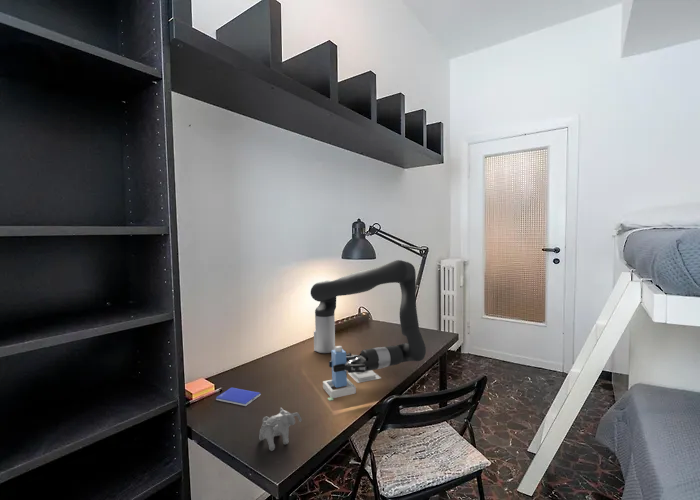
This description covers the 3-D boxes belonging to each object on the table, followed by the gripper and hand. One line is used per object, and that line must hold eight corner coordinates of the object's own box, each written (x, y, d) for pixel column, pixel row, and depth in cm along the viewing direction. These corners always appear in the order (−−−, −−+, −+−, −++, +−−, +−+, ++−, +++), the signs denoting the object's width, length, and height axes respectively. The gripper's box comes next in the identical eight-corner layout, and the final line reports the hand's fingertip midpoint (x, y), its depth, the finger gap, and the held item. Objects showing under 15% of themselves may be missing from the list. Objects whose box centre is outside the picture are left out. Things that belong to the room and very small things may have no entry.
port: (348, 382, 132) (348, 374, 132) (361, 396, 121) (361, 387, 121) (317, 388, 128) (317, 380, 127) (328, 403, 117) (328, 394, 116)
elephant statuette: (252, 445, 95) (251, 417, 94) (283, 424, 105) (282, 399, 104) (277, 456, 90) (276, 427, 89) (307, 433, 100) (306, 407, 99)
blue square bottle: (342, 381, 127) (341, 344, 126) (346, 385, 123) (345, 347, 122) (332, 383, 125) (331, 346, 125) (336, 387, 122) (335, 349, 121)
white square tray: (370, 370, 143) (369, 365, 143) (381, 380, 134) (381, 375, 134) (347, 374, 139) (347, 370, 139) (357, 385, 130) (357, 379, 130)
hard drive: (215, 397, 120) (245, 403, 116) (232, 386, 128) (260, 392, 123) (216, 401, 120) (245, 407, 116) (232, 391, 128) (260, 396, 123)
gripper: (366, 343, 136) (324, 349, 129) (384, 354, 123) (338, 362, 116) (367, 362, 136) (325, 369, 129) (384, 375, 123) (338, 385, 116)
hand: (331, 366), depth 123 cm, fingers closed on blue square bottle, 4 cm apart
